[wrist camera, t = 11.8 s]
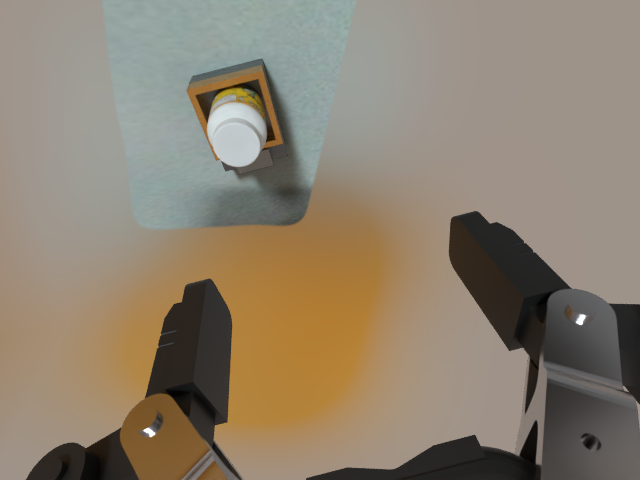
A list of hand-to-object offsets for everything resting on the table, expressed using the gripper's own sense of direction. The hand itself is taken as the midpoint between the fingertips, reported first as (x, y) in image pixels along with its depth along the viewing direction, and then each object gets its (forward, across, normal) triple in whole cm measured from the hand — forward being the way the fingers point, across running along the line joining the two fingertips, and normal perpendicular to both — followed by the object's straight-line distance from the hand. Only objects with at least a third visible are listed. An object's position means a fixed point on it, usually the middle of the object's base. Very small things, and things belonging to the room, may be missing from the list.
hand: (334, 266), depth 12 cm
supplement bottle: (+30, +5, +3) cm, 31 cm away
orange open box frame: (+33, +5, +4) cm, 34 cm away
